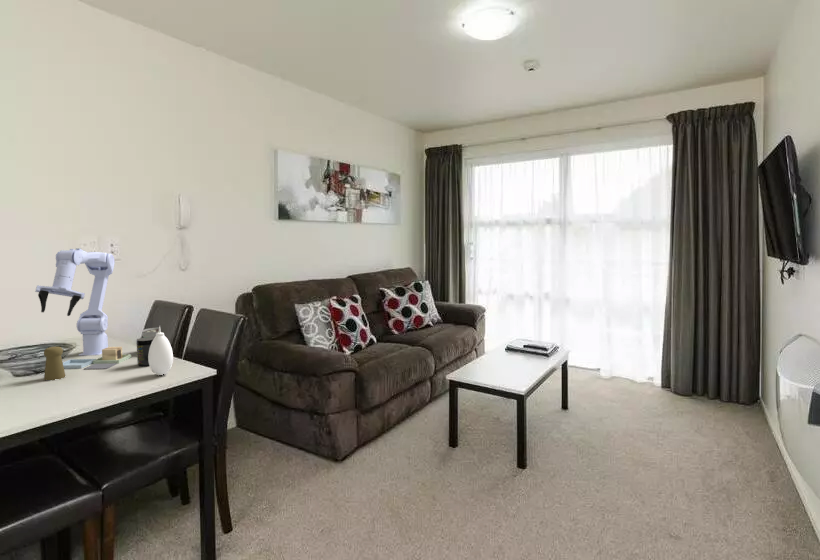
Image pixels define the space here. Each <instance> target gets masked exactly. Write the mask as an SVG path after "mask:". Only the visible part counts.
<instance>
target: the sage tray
mask: <svg viewBox="0 0 820 560" xmlns="http://www.w3.org/2000/svg"><path fill="white" fill-rule="evenodd" d="M122 356H123V358H121V359H119V360H102V356H101V357H99V358H95V359H96V360H94V361H93V364H110V363H117V364H121V363H123V362H125V361H127V360H128V359H131V358H132V354H131V353H130V354H122ZM93 364H92V365H93Z"/></svg>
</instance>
